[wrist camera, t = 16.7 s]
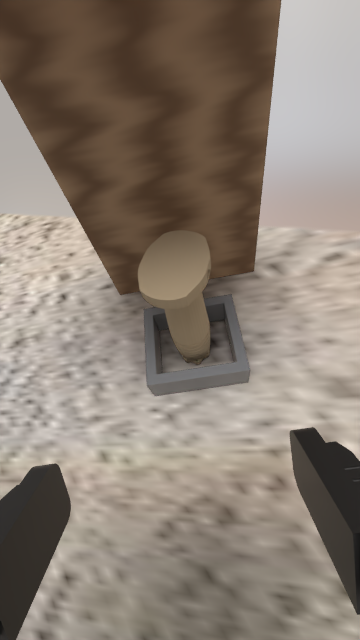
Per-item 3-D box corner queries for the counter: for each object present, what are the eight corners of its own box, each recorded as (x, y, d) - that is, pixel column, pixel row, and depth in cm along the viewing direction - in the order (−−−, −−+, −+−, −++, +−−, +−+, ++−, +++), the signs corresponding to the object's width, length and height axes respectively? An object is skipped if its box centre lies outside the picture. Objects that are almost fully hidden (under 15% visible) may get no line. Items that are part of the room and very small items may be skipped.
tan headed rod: (167, 374, 32) (126, 294, 19) (183, 325, 35) (156, 227, 22) (210, 383, 31) (195, 305, 18) (222, 331, 34) (217, 233, 21)
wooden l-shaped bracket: (119, 379, 33) (-399, -153, 6) (120, 285, 40) (-108, -145, 13) (280, 354, 31) (574, -489, 4) (250, 262, 38) (296, -272, 12)
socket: (154, 396, 31) (146, 385, 28) (151, 324, 36) (143, 309, 33) (248, 382, 30) (250, 369, 27) (231, 311, 35) (231, 294, 32)
